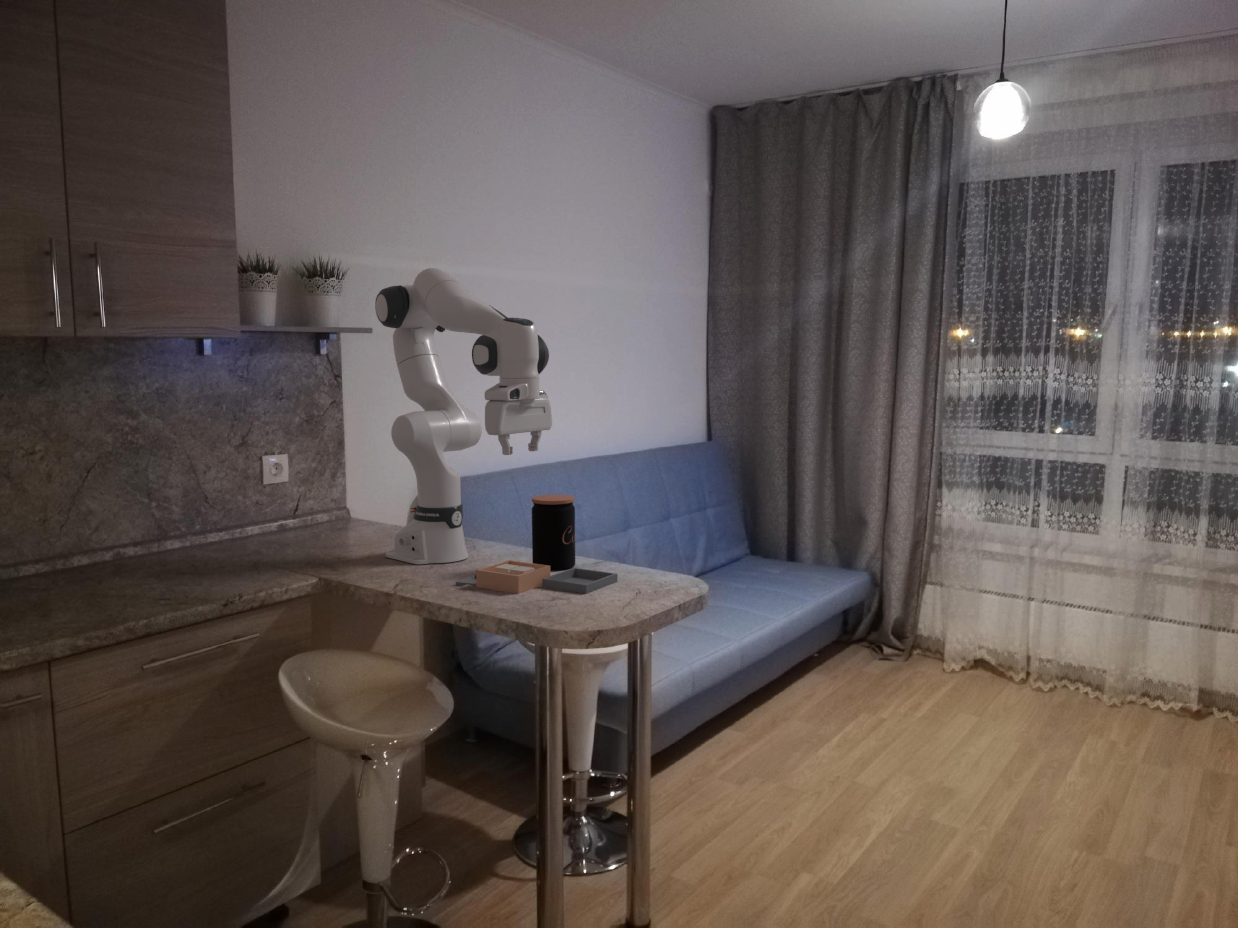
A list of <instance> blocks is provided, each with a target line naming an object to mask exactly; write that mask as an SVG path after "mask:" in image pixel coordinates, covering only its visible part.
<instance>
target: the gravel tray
mask: <svg viewBox="0 0 1238 928" xmlns="http://www.w3.org/2000/svg"><path fill="white" fill-rule="evenodd" d="M616 583H618V573H616V572H608V571H601V570H594V569H586V568H579V567H573V568H571V569H568V570H563V571H560V572H558V573H556V574H551V575H550V576H549V577H546V578H543V579H542V586H541V587H542V588H546V589H553V590H558V591H559V590H560V591H565V592H571V593H577V594H584V595H585V594H586V595H587V594H591V593H593V592H595V591H597V590H601V589H603V588H606V587H608V586H610V585H612V584H616Z"/></svg>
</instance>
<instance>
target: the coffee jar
mask: <svg viewBox="0 0 1238 928" xmlns="http://www.w3.org/2000/svg"><path fill="white" fill-rule="evenodd" d="M531 502H532V504H533V506H532V507H531V542H532V543H531V544H532V545H531V550H532V551H531V553H532V563H533V564H541V565H548V566H550V572H563V571H567V570H570V569H572V568H575V566H576V507H575V505H574V502H575V496H573V495H568V494H541V495H535V496H532V497H531Z"/></svg>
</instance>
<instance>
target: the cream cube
mask: <svg viewBox="0 0 1238 928" xmlns="http://www.w3.org/2000/svg"><path fill="white" fill-rule="evenodd" d="M516 567H519V566H517V565H510V564H503V565H500V566H497V567H495V572H499V573H506V574H510V569H513V568H516Z"/></svg>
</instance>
